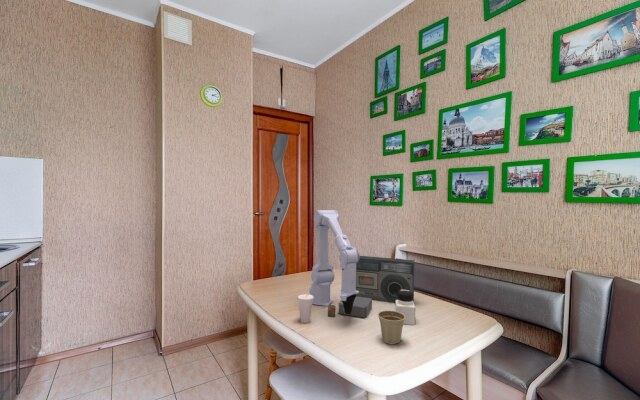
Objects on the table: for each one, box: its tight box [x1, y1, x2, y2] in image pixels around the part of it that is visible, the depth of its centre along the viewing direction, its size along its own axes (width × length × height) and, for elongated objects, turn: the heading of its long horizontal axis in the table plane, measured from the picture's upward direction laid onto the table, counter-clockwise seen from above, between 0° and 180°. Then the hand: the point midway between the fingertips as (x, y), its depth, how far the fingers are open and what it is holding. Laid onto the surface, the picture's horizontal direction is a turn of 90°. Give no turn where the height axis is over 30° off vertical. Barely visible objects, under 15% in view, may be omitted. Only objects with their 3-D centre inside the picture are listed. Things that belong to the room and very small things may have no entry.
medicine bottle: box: [394, 290, 416, 326], centre depth 118 cm, size 7×7×12 cm
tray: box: [338, 303, 365, 318], centre depth 126 cm, size 12×11×4 cm
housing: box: [338, 296, 373, 319], centre depth 127 cm, size 12×12×4 cm
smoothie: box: [297, 285, 314, 324], centre depth 116 cm, size 6×6×14 cm
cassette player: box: [356, 255, 415, 304], centre depth 143 cm, size 29×7×20 cm, turn 68°
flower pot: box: [377, 310, 405, 345], centre depth 101 cm, size 9×9×9 cm
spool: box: [327, 304, 337, 318], centre depth 122 cm, size 3×3×4 cm
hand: (348, 313), depth 116 cm, fingers closed
